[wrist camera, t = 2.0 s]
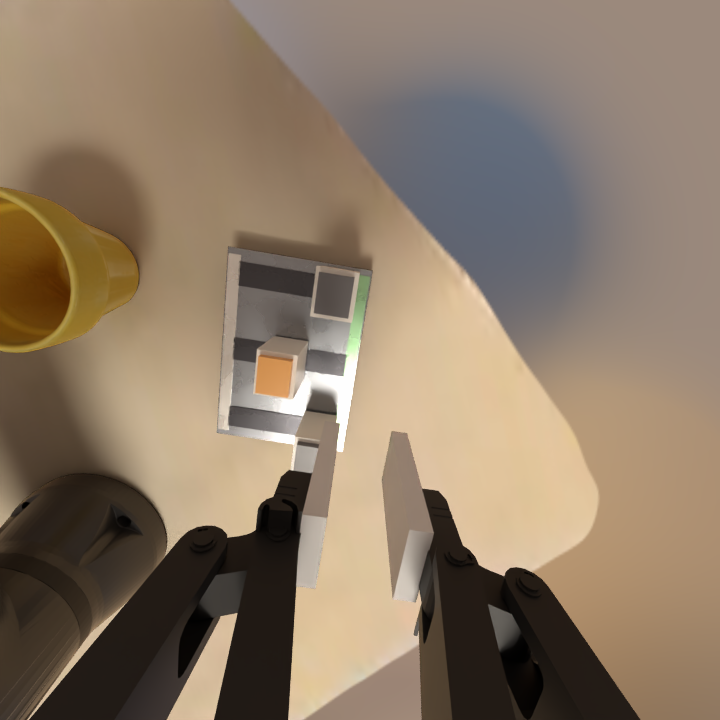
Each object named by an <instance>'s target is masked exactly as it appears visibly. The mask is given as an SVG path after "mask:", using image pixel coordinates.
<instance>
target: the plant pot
mask: <svg viewBox="0 0 720 720" xmlns="http://www.w3.org/2000/svg"><path fill="white" fill-rule="evenodd" d="M138 282H139V272H138V267H137V263H136V261H135V258H134V257H133V255H132V253H131V252H130V250H129V249H128V248H127V247H126V245H125V244H124V243H123V242H121V241H120V240H119V239H117V238H116V237H114V236H113V235H111V234H109V233H107V232H104V231H102V230H100V229H97V228H95V227H93V226H90V225H88V224H86V223H83V222H81V221H80V220H79V219H78V218H77V217H76V216H74V215H73V214H72V213H71V212H69V211H68V210H66V209H65V208H63V207H62V206H60V205H58V204H56V203H54V202H52V201H50V200H48V199H45V198H42V197H39V196H36V195H32V194H29V193H25V192H21V191H17V190H13V189H8V188H3V187H0V351H3V352H12V353H22V352H30V351H35V350H39V349H43V348H47V347H50V346H54V345H57V344H60V343H63V342H66V341H69V340H72V339H75V338H77V337H79V336H81V335H83V334H85V333H86V332H88V331H89V330H90V329H91V328H92V327H93V326H94V325H95V324H96V323H97V322H98V321H99V320H100V318H101V317H102V316H103V315H105V314H106V313H108V312H110V311H112V310H114V309H115V308H117V307H119V306H121V305H123V304H125V303H127V302H128V301H129V300H130V299H131V298H132V297H133V295H134V294H135V292H136V290H137V287H138Z"/></svg>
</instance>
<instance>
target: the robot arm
mask: <svg viewBox="0 0 720 720" xmlns="http://www.w3.org/2000/svg"><path fill="white" fill-rule="evenodd" d="M339 430H340V423H336V422H329V421H325V423H324V427H323V431H322V435H321V439H320V443H319V447H318V452H317V456H316V460H315V464H314V468H313V472H312V473H306V472H300V471H293V470H289V471H287V472H286V473H285V474H284V475H283V476H281V479H280V481H279V484H278V487H277V489H276V492H275V494H274V497H272V498H269V499H266V500H265V501H264V502H263V503H261V505H260V506H259V508H258V514H257V524H256V530H255V531H254V532H252V533H250V534H247V535H243V536H238V537H230V538H227V534H226V533H225V532H224V531H223V530H222V529H221V528H218V527H216V526H201V527H197V528H195V529H192V530H190V531H188V532H187V533H186V534H185V535H184V536H182V537H181V538H180V540H179V541H178V542H177V543H176V544H175V546H174V547H173V548H172V549H171V550H170V552H169V553H168V554H167V555H166V556H165V552H166V534H165V530H164V527H163V524H162V522H161V519H160V518H159V516H158V514H157V513H156V511H155V510H154V508H153V507H152V506H151V505H150V504H149V502H148V501H147V500H146V499H145V498H143V497H142V496H141V495H140V494H139V493H137V492H136V491H135V490H133V489H132V488H130V487H128V486H127V485H125V484H123V483H121V482H118V481H116V480H113V479H110V478H107V477H103V476H99V475H92V474H73V475H67V476H63V477H60V478H57V479H54V480H52V481H50V482H49V483H47V484H45V485H44V486H43V487H41V488H40V489H38V490H37V491H35V492H34V493H32V494H31V495H30V496H28V497H27V498H26V499H25V500H24V501H22V502H21V503H20V504H19V505H18V507H17V508H16V509H15V510H14V512H13V513H12V514H11V516H10V517H9V519H8V520H7V521H6V522H5V523H4V524H3V525H2V527H1V528H0V720H27V719H28V718H29V716H30V715H31V714H32V712H33V711H34V710H35V708H36V707H37V705H38V704H39V703H40V701H41V700H42V699H43V697H44V696H45V694H46V693H47V692H48V690H49V689H50V688H51V686H52V685H53V683H54V682H55V681H56V679H57V678H58V677H59V675H60V674H61V672H62V671H63V670H64V668H65V667H66V665H67V664H68V663H69V661H70V660H71V659H72V657H73V656H74V654H75V653H76V652H77V650H78V649H79V648H80V646H81V645H82V644H83V642H84V641H85V639H86V638H87V637H88V636H89V634H90V633H91V632H92V631H93V630H94V629H95V628H97V627H98V626H99V625H100V624H101V623H103V622H104V621H105V620H106V619H107V618H109V617H110V616H111V615H112V614H113V613H115V612H116V611H117V610H118V609H119V608H120V607H122V606H123V605H124V604H125V603H126V602H127V601H128V600H129V601H128V602H127V603H126V604H125V605H124V607H123V608H122V609H121V610H120V611H119V613H118V614H117V615H116V616H115V617H114V619H113V620H112V621H111V622H110V623H109V625H108V626H107V627H106V628H105V629H104V631H103V632H102V633H101V634H100V635H99V637H98V638H97V639H96V640H95V641H94V643H93V644H92V645H91V646H90V647H89V649H88V650H87V651H86V652H85V653H84V655H83V656H82V657H81V658H80V659H79V661H78V662H77V663H76V664H75V665H74V667H73V668H72V669H71V670H70V671H69V673H68V674H67V675H66V676H65V677H64V679H63V680H62V681H61V682H60V683H59V685H58V686H57V687H56V688H55V689H54V691H53V692H52V693H51V694H50V695H49V697H48V698H47V699H46V700H45V701H44V703H43V704H42V705H41V706H40V707H39V709H38V710H37V711H36V712H35V713H34V715H33V716H32V717H31V718H30V719H29V720H167V718H168V716H169V714H170V712H171V710H172V708H173V706H174V704H175V702H176V701H177V699H178V697H179V695H180V693H181V691H182V689H183V687H184V685H185V683H186V682H187V680H188V678H189V676H190V674H191V672H192V670H193V668H194V666H195V665H196V663H197V661H198V659H199V657H200V655H201V653H202V651H203V649H204V647H205V646H206V644H207V642H208V640H209V638H210V636H211V634H212V632H213V630H214V628H215V627H216V625H217V623H218V621H219V619H220V616H224V615H229V614H234V613H238V614H237V619H236V623H235V628H234V632H233V637H232V641H231V646H230V650H229V655H228V659H227V664H226V668H225V673H224V678H223V682H222V687H221V691H220V696H219V700H218V705H217V709H216V714H215V718H214V720H288V712H289V696H290V680H291V663H292V647H293V630H294V614H295V597H296V586H298V587H306V588H313V589H316V583H317V577H318V571H319V565H320V559H321V553H322V546H323V540H324V534H325V528H326V522H327V516H328V508H329V501H330V494H331V487H332V480H333V473H334V466H335V458H336V451H337V444H338V437H339ZM382 487H383V497H384V508H385V519H386V530H387V541H388V552H389V563H390V573H391V584H392V595H393V599H395V600H402V601H409V602H416V600H417V596H418V592H419V590H420V596H421V601H422V604H421V607H420V611H419V615H418V618H417V622H416V626H415V630H414V635H415V636H417V635H418V631H419V647H420V679H421V711H422V712H421V713H422V720H640V718H639V717H638V716H637V714H636V713H635V711H634V710H633V708H632V707H631V705H630V704H629V703H628V701H627V700H626V699H625V697H624V695H623V694H622V693H621V691H620V690H619V688H618V687H617V685H616V684H615V682H614V681H613V679H612V678H611V677H610V675H609V674H608V672H607V671H606V669H605V668H604V666H603V665H602V664H601V662H600V661H599V660H598V658H597V656H596V655H595V653H594V652H593V651H592V649H591V648H590V646H589V645H588V643H587V642H586V640H585V639H584V638H583V636H582V635H581V633H580V632H579V630H578V629H577V627H576V626H575V625H574V623H573V622H572V620H571V619H570V617H569V616H568V614H567V613H566V611H565V610H564V609H563V607H562V606H561V604H560V603H559V601H558V600H557V598H556V597H555V596H554V594H553V593H552V592H551V590H550V589H549V587H548V586H547V585H546V584H545V582H544V581H543V580H542V579H541V578H539V577H538V576H537V575H535V574H534V573H532V572H530V571H528V570H526V569H523V568H518V567H515V568H510V569H509V570H507V571H506V573H505V576H502V575H499V574H497V573H494V572H492V571H489V570H487V569H485V568H483V567H481V566H480V565H478V562H477V560H476V558H475V556H474V555H473V554H472V553H471V551H470V550H468V549H467V548H465V547H464V546H463V545H462V542H461V539H460V537H459V534H458V531H457V528H456V525H455V523H454V520H453V519H452V514H451V512H450V509H449V506H448V503H447V501H446V499H445V498H444V497H443V496H442V495H441V493H440V492H439V491H435V490H428V489H422V487H421V483H420V480H419V476H418V472H417V469H416V465H415V461H414V457H413V454H412V450H411V446H410V443H409V439H408V435H407V433H401V432H395V431H392V432H391V437H390V442H389V447H388V452H387V457H386V462H385V466H384V471H383V476H382ZM164 556H165V558H164ZM163 558H164V559H163Z"/></svg>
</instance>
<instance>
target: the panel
mask: <svg viewBox="0 0 720 720" xmlns="http://www.w3.org/2000/svg"><path fill="white" fill-rule="evenodd" d="M316 266H328V267H334V268H340V269H345V270H351V271H357V272H360V277H359V283H358V289H357V295H356V302H355V308H354V314H353V320H352V323H348V322H342V321H336V320H330V319H324V318H318V317H312V316H310V312H311V304H312V296H313V288H314V281H315V273H316ZM371 277H372V271H371V270H365V269H359V268H353V267H347V266H342V265H336V264H330V263H324V262H318V261H312V260H306V259H300V258H294V257H288V256H282V255H277V254H271V253H265V252H259V251H253V250H247V249H241V248H235V247H229V246H228V259H227V275H226V292H225V308H224V324H223V341H222V357H221V373H220V390H219V406H218V422H217V433H221V434H228V435H234V436H241V437H248V438H254V439H261V440H268V441H274V442H281V443H288V444H294V439H295V435H296V432H297V430H298V427H299V425H300V422H301V420H302V417H303V415H304V412H305V411H310V412H316V413H323V414H329V415H336V416H337V421H336V423H340V430H339V437H338V444H337V451H341V452H342V450H343V444H344V438H345V433H346V427H347V421H348V415H349V409H350V403H351V397H352V391H353V385H354V379H355V373H356V367H357V361H358V355H359V349H360V343H361V337H362V331H363V325H364V319H365V313H366V307H367V301H368V295H369V289H370V283H371ZM273 336H278V337H284V338H290V339H296V340H303V341H308V348H307V356H306V364H305V372H304V379H303V381H302V383H301V385H300V387H299V389H298V391H297V393H296V395H295V397H294V398H293V400H290V399H283V398H277V397H270V396H264V395H257V394H253V389H254V378H255V367H256V355H257V349H258V348H259V347H260V346H262V345H263V344H264V343H266V342H267V341H268V340H269V339H271V338H272V337H273Z"/></svg>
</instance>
